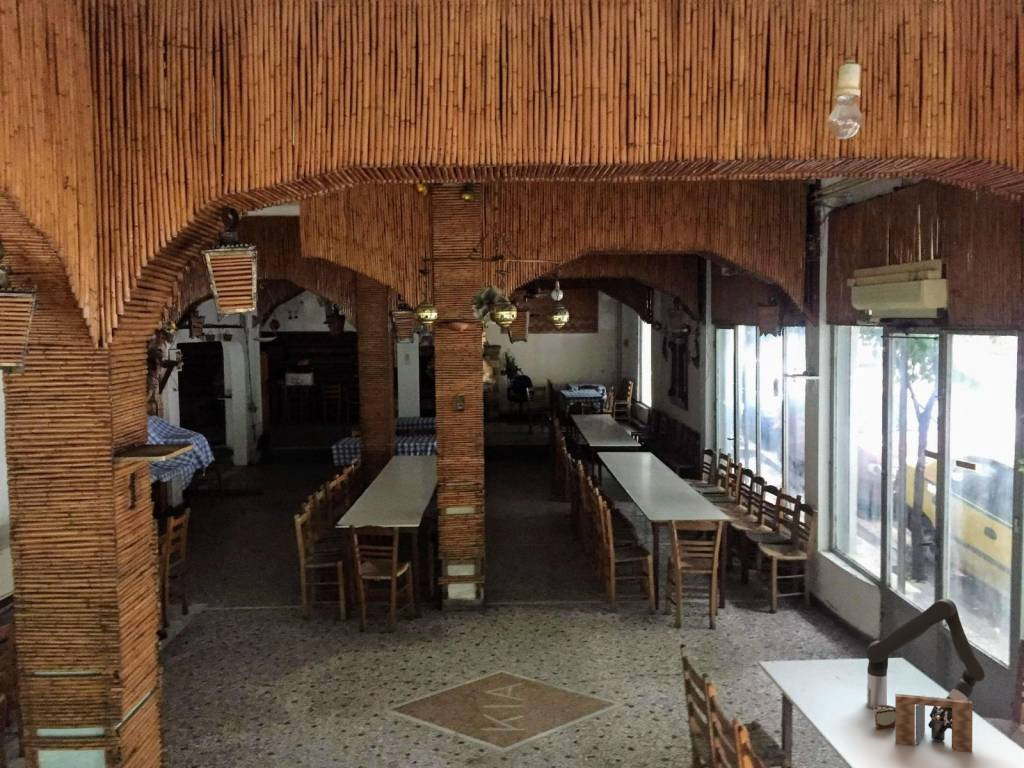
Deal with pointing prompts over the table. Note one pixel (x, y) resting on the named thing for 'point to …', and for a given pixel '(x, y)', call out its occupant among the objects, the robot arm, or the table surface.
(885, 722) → the food container
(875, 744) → the table surface
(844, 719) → the table surface
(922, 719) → the cabinet door
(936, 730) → the pepper mill
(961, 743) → the door frame
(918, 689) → the table surface
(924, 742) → the table surface
